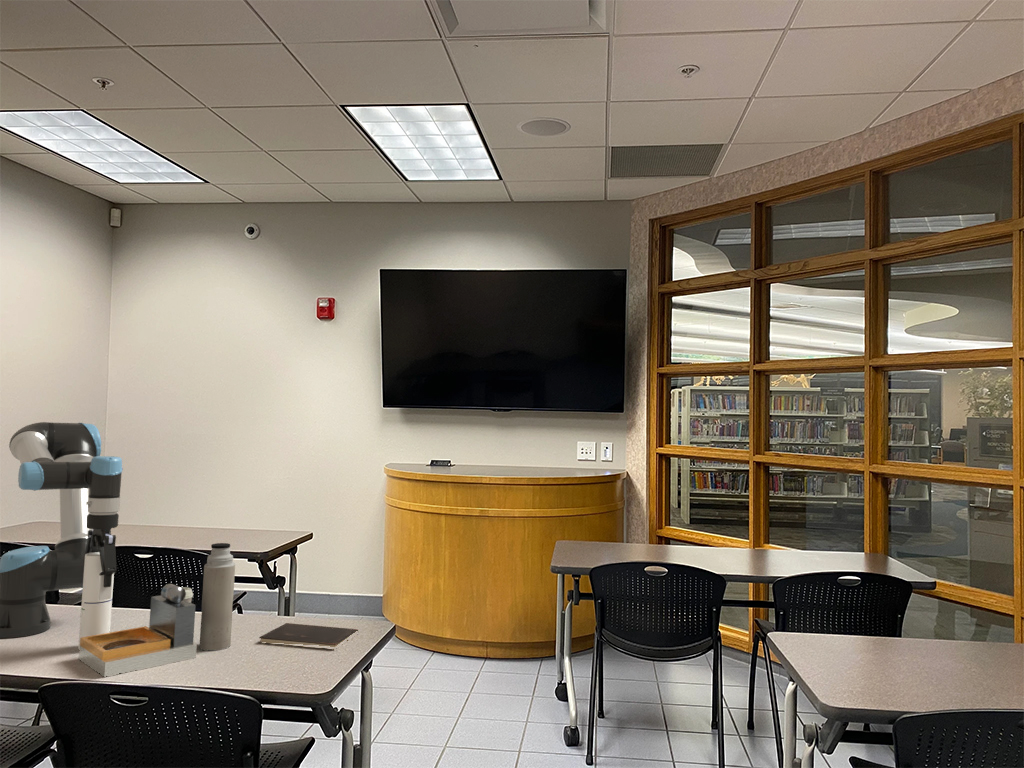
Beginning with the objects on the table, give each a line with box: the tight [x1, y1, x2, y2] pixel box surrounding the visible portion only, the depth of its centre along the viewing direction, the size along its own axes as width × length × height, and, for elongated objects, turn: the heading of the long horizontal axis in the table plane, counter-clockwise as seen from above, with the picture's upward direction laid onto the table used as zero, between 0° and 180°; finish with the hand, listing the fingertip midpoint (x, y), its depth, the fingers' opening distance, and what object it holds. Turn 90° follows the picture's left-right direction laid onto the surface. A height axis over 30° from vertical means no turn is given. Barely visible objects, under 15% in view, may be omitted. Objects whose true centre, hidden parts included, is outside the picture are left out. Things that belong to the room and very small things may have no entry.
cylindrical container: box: [78, 552, 115, 651], centre depth 192 cm, size 7×7×25 cm
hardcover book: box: [258, 622, 359, 647], centre depth 206 cm, size 16×23×2 cm
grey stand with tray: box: [78, 583, 198, 678], centre depth 184 cm, size 18×22×18 cm
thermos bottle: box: [199, 542, 236, 651], centre depth 197 cm, size 8×8×28 cm
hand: (97, 595), depth 192 cm, fingers open, 10 cm apart
